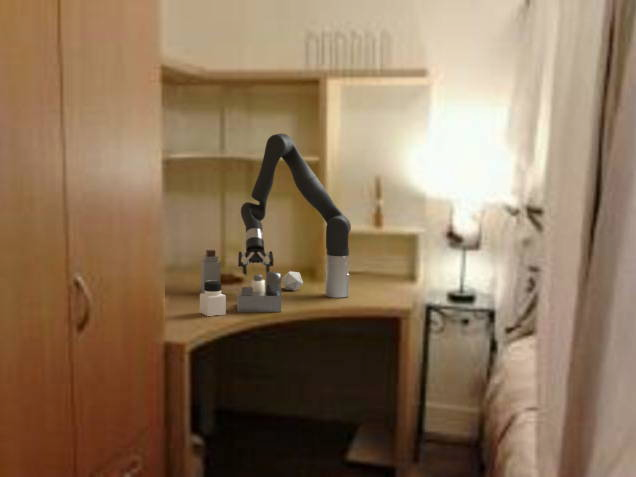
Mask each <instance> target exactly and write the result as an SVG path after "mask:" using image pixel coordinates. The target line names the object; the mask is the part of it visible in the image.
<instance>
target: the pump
mask: <svg viewBox="0 0 636 477" xmlns="http://www.w3.org/2000/svg"><path fill="white" fill-rule="evenodd" d="M250 287H252V288H253V293H266V279H263V274H261V273H260V274H256V273H255V274H254V275H253V279H251V280H250Z"/></svg>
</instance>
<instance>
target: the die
mask: <svg viewBox="0 0 636 477" xmlns="http://www.w3.org/2000/svg"><path fill="white" fill-rule="evenodd" d="M281 282H282V283H283V286H284V289H285V290H286V291H291V290H292V292H296V291H297V290H299V289H300V288H301V286H303V285H304V281H303V278H302V276H301V273H300V272H299V271H298V272H297V271H291V270H289V271H288V272H287V273H286V274H285V275H284V276H283V277H281Z"/></svg>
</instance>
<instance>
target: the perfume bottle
mask: <svg viewBox="0 0 636 477" xmlns="http://www.w3.org/2000/svg"><path fill="white" fill-rule="evenodd" d="M202 257H203V260H200V294H202V293H205V292H204V283H205V282H206V281H209V280H217V281H220V282H221V273H222V272H221V270H222V269H221V267H222V264H221V261H219V256H218V255H216V250H215V249H206V250H205V254H203V255H202Z"/></svg>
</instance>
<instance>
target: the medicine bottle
mask: <svg viewBox="0 0 636 477" xmlns="http://www.w3.org/2000/svg"><path fill="white" fill-rule="evenodd" d="M204 292H205V293H200V294H199V313H200V314H201V313H202V315H203V314H204V316H205V315H207V316H206V317H208V316H211V317H215V316H214V315H219V316H225V315H226V314H227V312H226V311H227V308H226V307H227V295H225V294H223V293H222V282H221V280H220V281H217V280H209V281H206V282H205V283H204Z"/></svg>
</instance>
